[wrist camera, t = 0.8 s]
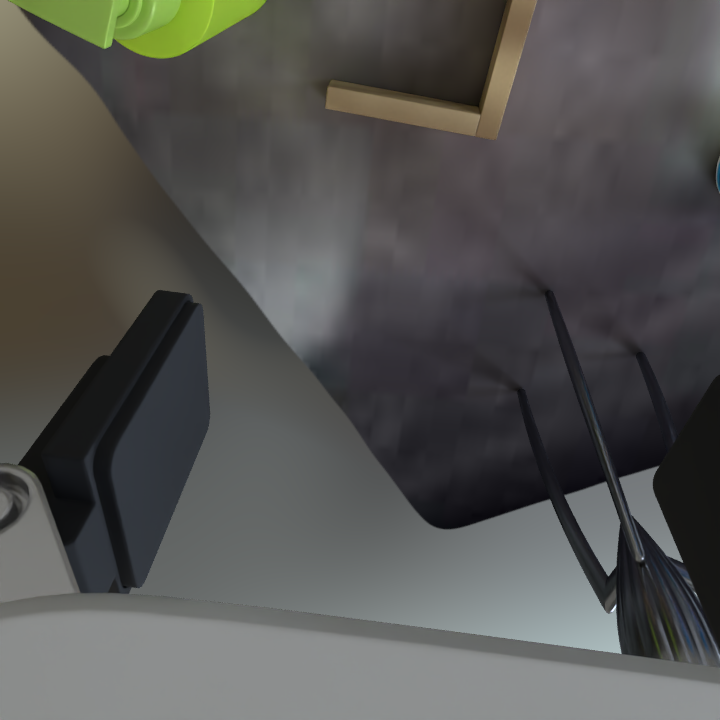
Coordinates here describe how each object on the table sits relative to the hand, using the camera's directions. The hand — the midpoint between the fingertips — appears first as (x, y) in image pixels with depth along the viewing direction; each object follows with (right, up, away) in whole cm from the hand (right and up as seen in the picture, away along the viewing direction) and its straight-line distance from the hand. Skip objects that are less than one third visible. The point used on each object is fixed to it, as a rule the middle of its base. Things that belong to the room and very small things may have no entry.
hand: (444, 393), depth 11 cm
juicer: (+18, +2, +39) cm, 43 cm away
